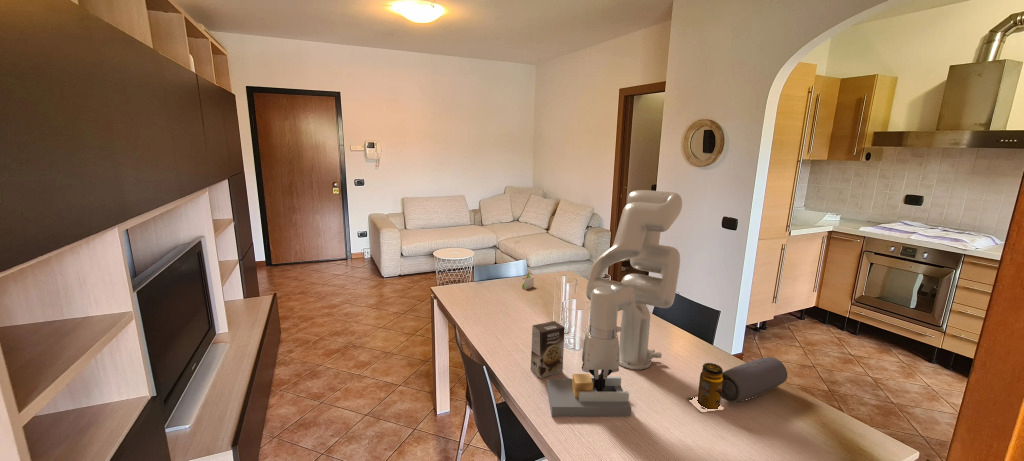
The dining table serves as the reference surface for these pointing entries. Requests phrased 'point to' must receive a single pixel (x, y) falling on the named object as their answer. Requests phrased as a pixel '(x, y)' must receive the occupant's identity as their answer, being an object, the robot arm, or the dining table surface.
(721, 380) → the condiment
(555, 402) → the trap channel
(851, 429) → the dining table surface
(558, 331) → the cookie box
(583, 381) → the block
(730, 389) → the bluetooth speaker
